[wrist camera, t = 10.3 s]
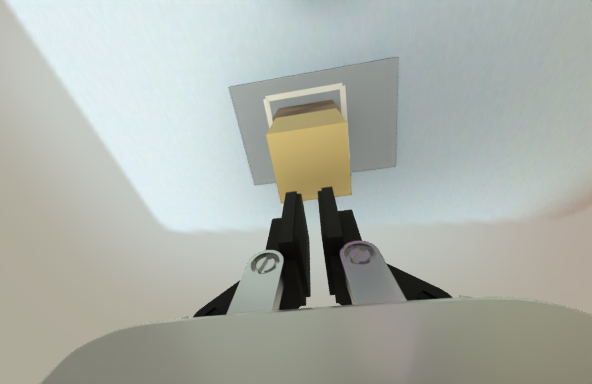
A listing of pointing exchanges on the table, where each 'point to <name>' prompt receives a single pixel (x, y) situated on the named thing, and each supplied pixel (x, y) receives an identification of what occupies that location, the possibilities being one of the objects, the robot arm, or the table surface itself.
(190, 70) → the table surface
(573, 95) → the table surface
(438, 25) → the table surface
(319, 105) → the walnut block
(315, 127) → the ochre block
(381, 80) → the board
